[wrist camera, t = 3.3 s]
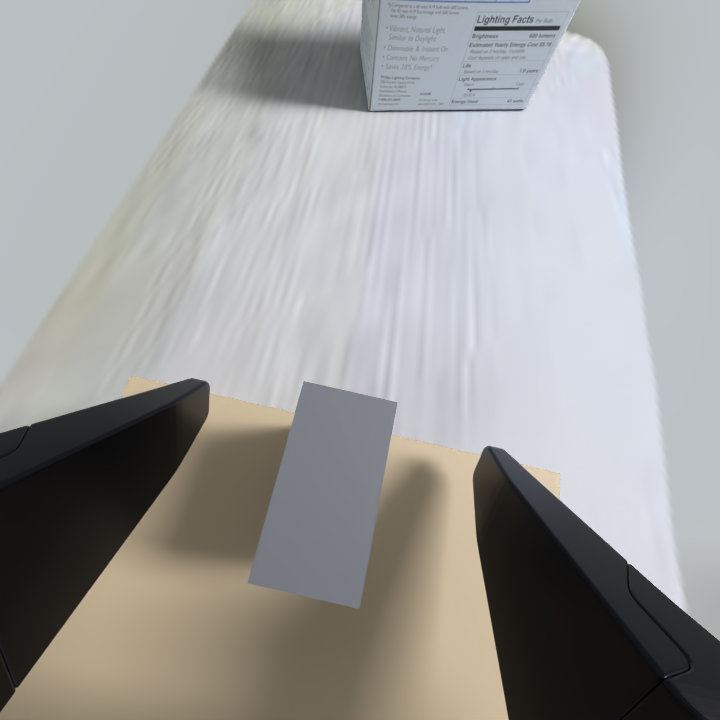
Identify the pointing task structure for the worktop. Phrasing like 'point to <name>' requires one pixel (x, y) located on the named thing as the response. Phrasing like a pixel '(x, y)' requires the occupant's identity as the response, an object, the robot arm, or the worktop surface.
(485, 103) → the light bulb box
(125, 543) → the sliding lid
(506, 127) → the worktop surface
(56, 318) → the worktop surface
